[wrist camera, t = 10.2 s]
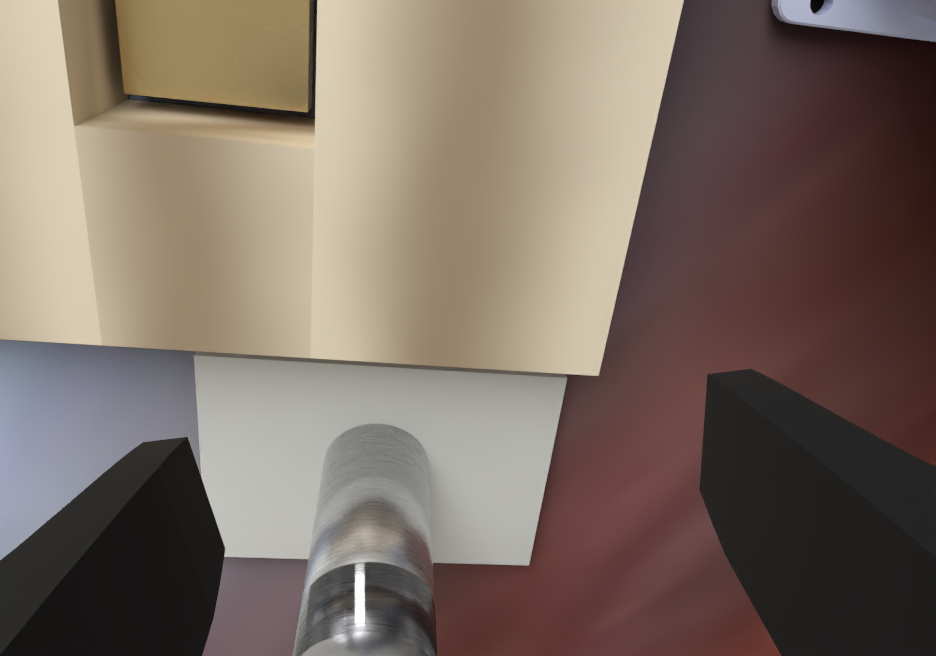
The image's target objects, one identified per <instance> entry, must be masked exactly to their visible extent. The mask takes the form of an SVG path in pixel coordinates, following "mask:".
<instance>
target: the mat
mask: <svg viewBox="0 0 936 656" xmlns="http://www.w3.org/2000/svg"><path fill="white" fill-rule="evenodd" d="M194 368H195V384H196V399H197V415H198V431H199V446H200V462H201V478H202V482H203V484H204V487H205V490H206V493H207V496H208V499H209V502H210V505H211V508H212V511H213V514H214V517H215V520H216V523H217V526H218V529H219V532H220V534H221V537H222V540H223V543H224V546H225V554H224V557H250V558H285V559H308V557H309V551H310V545H311V539H312V533H313V526H314V520H315V514H316V508H317V501H318V495H319V489H320V483H321V477H322V470H323V464H324V459H325V455H326V452H327V450H328V448H329V446H330V445H331V444H332V442H333V441H334V440H335V439H336V438H337V437H338V436H340V435H341V434H342V433H344V432H346V431H347V430H349V429H352V428H354V427H357V426H361V425H366V424H387V425H392V426H395V427H398V428H401V429H403V430H405V431H407V432H408V433H410V434H411V435H413V436H414V437H415V438H416V439H417V440H418V441H419V442H420V443H421V445H422V446H423V448H424V450H425V452H426V455H427V459H428V471H429V492H430V514H431V535H432V556H433V563H461V564H497V565H529V563H530V558H531V553H532V548H533V544H534V539H535V534H536V529H537V524H538V519H539V514H540V509H541V504H542V500H543V495H544V490H545V485H546V480H547V475H548V470H549V465H550V461H551V456H552V451H553V446H554V441H555V436H556V431H557V426H558V421H559V417H560V412H561V407H562V402H563V397H564V392H565V387H566V382H567V376H566V374H558V373H542V372H526V371H510V370H493V369H477V368H461V367H444V366H428V365H412V364H396V363H379V362H363V361H347V360H331V359H314V358H298V357H282V356H265V355H249V354H233V353H217V352H200V351H196V352H195V354H194Z"/></svg>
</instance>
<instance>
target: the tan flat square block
mask: <svg viewBox="0 0 936 656" xmlns="http://www.w3.org/2000/svg"><path fill="white" fill-rule="evenodd" d="M115 4H116V15H117V25H118V36H119V46H120V56H121V67H122V77H123V88H124V94H132V95H141V96H151V97H161V98H171V99H181V100H190V101H200V102H210V103H220V104H230V105H240V106H249V107H259V108H269V109H279V110H289V111H298V112H308V111H309V110H310V108H311V107H312V80H313V22H314V0H115Z"/></svg>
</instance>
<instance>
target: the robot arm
mask: <svg viewBox="0 0 936 656" xmlns="http://www.w3.org/2000/svg"><path fill="white" fill-rule="evenodd" d="M810 1H811V0H772V5H771V6H772V10H773V13H774V15H775V16H776V17H777V18H778V20H780V21H783V22H785V23H790V24H798V25H805V26H813V27H821V28H829V29H837V30H845V31H853V32H861V33H869V34H877V35H885V36H892V37H900V38H908V39H916V40H924V41H932V42H936V0H824V4H823V6H822V7H821V9H820V10H819V11H818V12H816V13H815V14H813V13H812V11H811V9H810ZM700 492H701V495H702V497H703V500H704V503H705V505H706V508H707V510H708V513H709V516H710V518H711V521H712V524H713V526H714V528H715V531H716V533H717V536H718V538H719V540H720V543H721V545H722V548H723V550H724V553H725V555H726V556H727V558H728V560H729V562H730V564H731V566H732V568H733V569H734V571H735V573H736V575H737V577H738V579H739V580H740V582H741V584H742V586H743V588H744V589H745V591H746V593H747V595H748V597H749V598H750V600H751V602H752V604H753V606H754V607H755V609H756V611H757V613H758V615H759V616H760V618H761V620H762V622H763V623H764V625H765V627H766V629H767V631H768V632H769V634H770V636H771V638H772V639H773V641H774V643H775V645H776V647H777V648H778V650H779V652H780V654H781V655H782V656H936V467H935V466H933V465H931V464H929V463H927V462H925V461H923V460H921V459H919V458H917V457H915V456H913V455H911V454H909V453H907V452H905V451H903V450H901V449H899V448H897V447H896V446H894V445H892V444H890V443H888V442H886V441H884V440H882V439H880V438H878V437H877V436H875V435H873V434H871V433H869V432H867V431H865V430H864V429H862V428H860V427H858V426H856V425H854V424H853V423H851V422H849V421H847V420H845V419H844V418H842V417H840V416H838V415H836V414H834V413H833V412H831V411H829V410H827V409H825V408H824V407H822V406H820V405H818V404H817V403H815V402H813V401H811V400H809V399H808V398H806V397H804V396H802V395H800V394H799V393H797V392H795V391H793V390H791V389H789V388H788V387H786V386H784V385H782V384H780V383H778V382H776V381H775V380H773V379H771V378H769V377H767V376H765V375H763V374H761V373H759V372H756V371H754V370H752V369H748V370H739V371H731V372H723V373H715V374H708V377H707V391H706V405H705V420H704V434H703V449H702V463H701V478H700ZM224 554H225V546H224V543H223V540H222V537H221V534H220V532H219V529H218V526H217V523H216V520H215V517H214V514H213V511H212V508H211V505H210V502H209V499H208V496H207V493H206V490H205V487H204V484H203V482H202V479H201V476H200V473H199V470H198V467H197V464H196V461H195V458H194V455H193V452H192V449H191V446H190V443H189V440H188V437H184V438H176V439H167V440H159V441H151V442H143V443H141V444H140V445H139V446H137V447H136V448H135V449H133V450H132V451H131V452H129V453H128V454H127V455H125V456H124V457H123V458H122V459H120V460H119V461H118V462H117V463H116V464H114V465H113V466H112V467H111V468H110V469H108V470H107V471H106V472H105V473H104V474H102V475H101V476H100V477H99V478H98V479H97V480H95V481H94V482H93V483H92V484H91V485H90V486H88V487H87V488H86V489H85V490H84V491H83V492H81V493H80V494H79V495H78V496H77V497H76V498H74V499H73V500H72V501H71V502H70V503H69V504H67V505H66V506H65V507H64V508H63V509H62V510H60V511H59V512H58V513H57V514H56V515H54V516H53V517H52V518H51V519H50V520H49V521H47V522H46V523H45V524H44V525H43V526H42V527H40V528H39V529H38V530H37V531H36V532H34V533H33V534H32V535H31V536H30V537H29V538H27V539H26V540H25V541H24V542H23V543H22V544H20V545H19V546H18V547H17V548H16V549H14V550H13V551H12V552H11V553H9V554H8V555H7V556H5V557H4V558H3V559H2V560H0V656H202V654H203V650H204V647H205V644H206V641H207V637H208V634H209V631H210V627H211V624H212V621H213V617H214V612H215V606H216V601H217V596H218V591H219V585H220V579H221V573H222V566H223V560H224Z"/></svg>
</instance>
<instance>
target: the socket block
mask: <svg viewBox="0 0 936 656" xmlns="http://www.w3.org/2000/svg"><path fill="white" fill-rule="evenodd" d="M683 2H684V0H317V45H316V97H315V118H309V117H299V116H289V115H279V114H269V113H259V112H249V111H239V110H229V109H220V108H210V107H200V106H190V105H180V104H170V103H160V102H150V101H140V100H130V99H128V94H124V88H123V77H122V67H121V56H120V46H119V36H118V25H117V15H116V4H115V0H0V339H5V340H21V341H38V342H54V343H70V344H86V345H103V346H119V347H135V348H152V349H168V350H184V351H200V352H217V353H233V354H249V355H265V356H282V357H298V358H314V359H331V360H347V361H363V362H379V363H396V364H412V365H428V366H444V367H461V368H477V369H493V370H510V371H526V372H542V373H558V374H575V375H591V376H599V372H600V367H601V363H602V359H603V354H604V350H605V345H606V341H607V337H608V332H609V328H610V323H611V319H612V315H613V310H614V306H615V301H616V297H617V293H618V288H619V284H620V279H621V275H622V271H623V266H624V262H625V257H626V253H627V248H628V244H629V240H630V235H631V231H632V226H633V222H634V218H635V213H636V209H637V204H638V200H639V196H640V191H641V187H642V182H643V178H644V174H645V169H646V165H647V160H648V156H649V152H650V147H651V143H652V138H653V134H654V130H655V125H656V121H657V116H658V112H659V107H660V103H661V99H662V94H663V90H664V85H665V81H666V77H667V72H668V68H669V63H670V59H671V55H672V50H673V46H674V41H675V37H676V33H677V28H678V24H679V19H680V15H681V11H682V6H683Z"/></svg>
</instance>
